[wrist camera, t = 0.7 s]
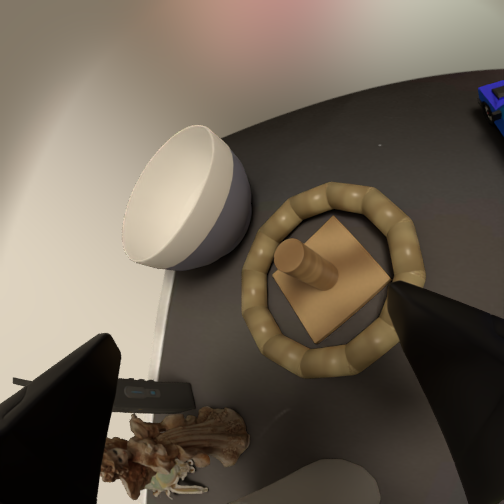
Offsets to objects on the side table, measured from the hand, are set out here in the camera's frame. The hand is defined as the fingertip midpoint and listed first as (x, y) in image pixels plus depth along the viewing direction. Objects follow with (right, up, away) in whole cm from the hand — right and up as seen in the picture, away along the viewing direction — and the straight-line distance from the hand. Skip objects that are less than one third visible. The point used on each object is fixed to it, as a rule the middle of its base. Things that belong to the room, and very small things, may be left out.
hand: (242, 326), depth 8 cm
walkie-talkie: (-8, -15, +22) cm, 28 cm away
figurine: (-2, -16, +16) cm, 23 cm away
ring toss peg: (+7, 0, +16) cm, 17 cm away
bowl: (-3, +6, +27) cm, 28 cm away
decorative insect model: (-9, -26, +19) cm, 33 cm away
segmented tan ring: (+6, 0, +15) cm, 16 cm away
